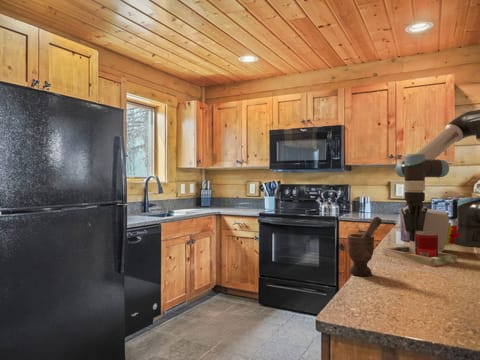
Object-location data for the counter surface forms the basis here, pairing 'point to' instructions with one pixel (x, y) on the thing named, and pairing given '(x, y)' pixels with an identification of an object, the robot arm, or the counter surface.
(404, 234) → the cake pan box
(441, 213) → the electrical switch box
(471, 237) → the robot arm
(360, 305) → the counter surface
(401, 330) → the counter surface
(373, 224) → the mortar and pestle
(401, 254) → the slot frame
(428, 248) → the canned food
